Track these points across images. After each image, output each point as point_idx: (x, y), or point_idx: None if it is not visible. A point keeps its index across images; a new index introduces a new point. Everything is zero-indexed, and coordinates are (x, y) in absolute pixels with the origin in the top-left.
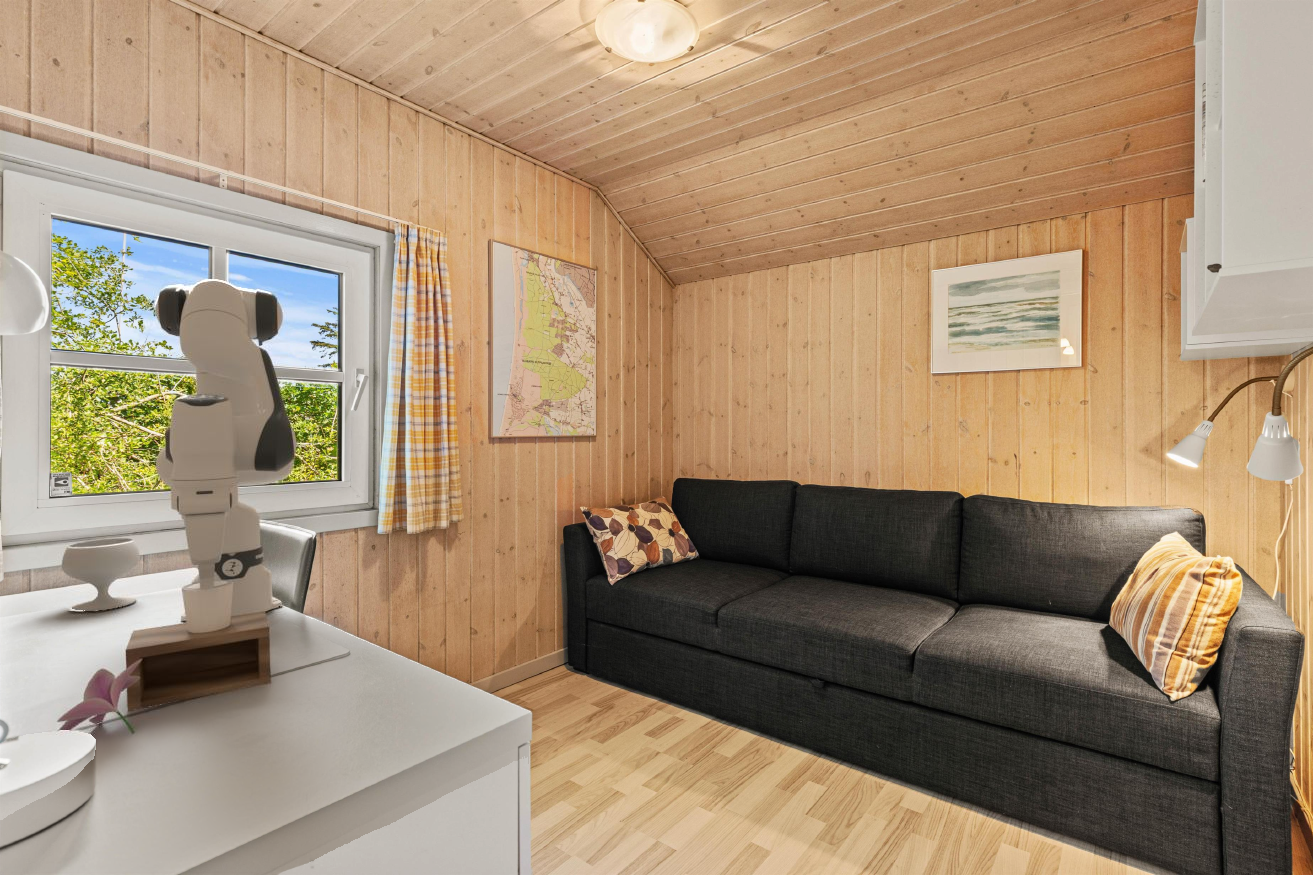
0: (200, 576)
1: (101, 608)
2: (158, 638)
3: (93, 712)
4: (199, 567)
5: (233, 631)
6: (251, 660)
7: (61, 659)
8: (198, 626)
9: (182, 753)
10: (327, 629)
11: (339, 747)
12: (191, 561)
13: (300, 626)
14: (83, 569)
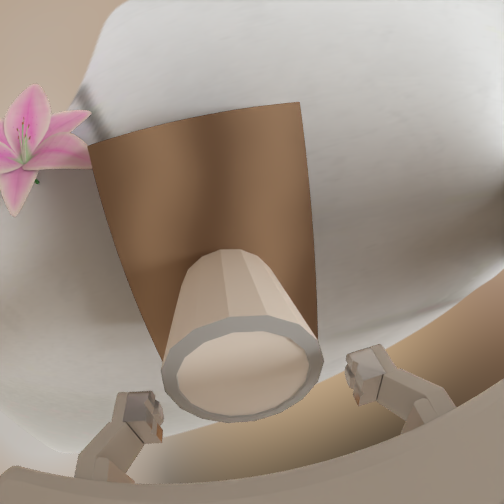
0: (103, 430)
1: None
2: (166, 195)
3: (13, 139)
4: (80, 461)
5: (164, 344)
6: None
7: (460, 6)
8: (180, 290)
9: None
10: (399, 340)
11: (2, 375)
12: (5, 472)
13: (437, 303)
14: None
